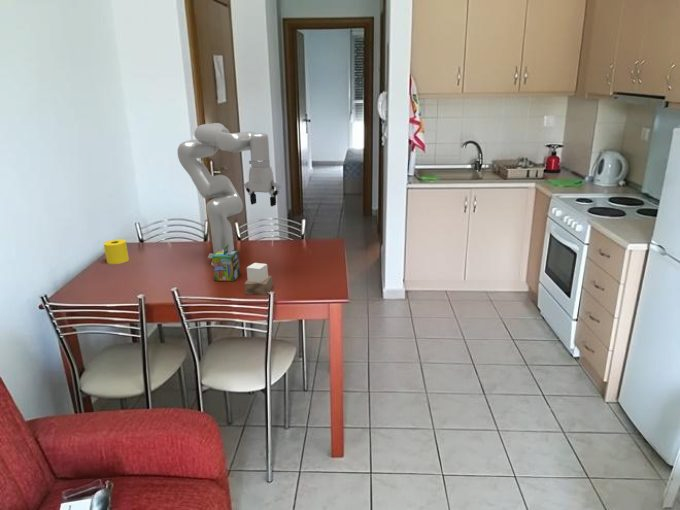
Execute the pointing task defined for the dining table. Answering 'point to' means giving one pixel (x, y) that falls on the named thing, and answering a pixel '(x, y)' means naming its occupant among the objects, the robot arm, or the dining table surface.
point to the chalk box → (226, 265)
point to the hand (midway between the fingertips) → (263, 204)
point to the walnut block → (258, 287)
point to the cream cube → (257, 272)
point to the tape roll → (116, 251)
